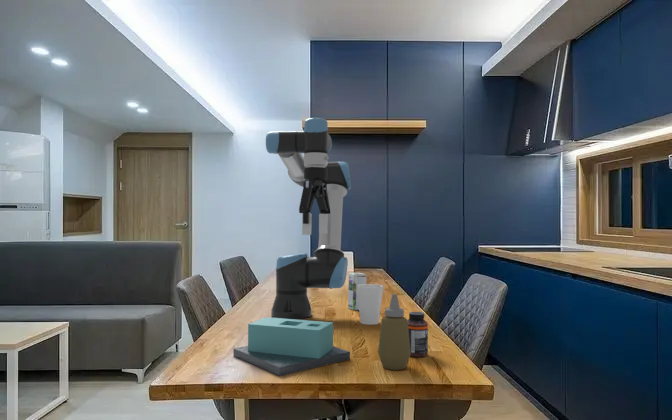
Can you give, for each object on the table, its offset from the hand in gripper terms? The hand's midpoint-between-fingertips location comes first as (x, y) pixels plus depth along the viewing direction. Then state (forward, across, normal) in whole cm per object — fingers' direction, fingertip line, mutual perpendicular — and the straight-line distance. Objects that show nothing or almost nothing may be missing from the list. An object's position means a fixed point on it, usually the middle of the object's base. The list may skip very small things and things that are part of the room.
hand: (315, 234), depth 159 cm
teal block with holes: (+30, -27, -4) cm, 40 cm away
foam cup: (+32, +24, -11) cm, 41 cm away
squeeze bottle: (+32, -25, -32) cm, 51 cm away
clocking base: (+32, -27, -4) cm, 42 cm away
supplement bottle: (+32, -12, -35) cm, 49 cm away
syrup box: (+32, +48, +1) cm, 58 cm away
